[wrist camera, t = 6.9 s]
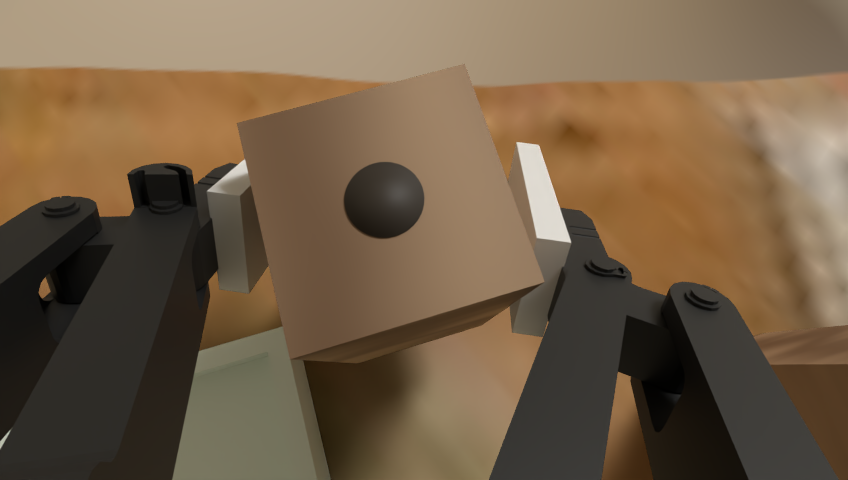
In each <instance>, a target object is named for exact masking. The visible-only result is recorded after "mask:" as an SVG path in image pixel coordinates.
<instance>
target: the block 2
mask: <svg viewBox="0 0 848 480" xmlns="http://www.w3.org/2000/svg"><path fill="white" fill-rule="evenodd" d="M754 339H755V340H756V342H757V344H758V345H759V347H760V349H761V350H762V352H763V354H764V355H765V357H766V359H767V360H768V362H769V364H770V365H771V367H772V369H773V370H774V372H775V374H776V375H777V377H778V379H779V380H780V382H781V384H782V385H783V387H784V389H785V390H786V392H787V394H788V395H789V397H790V399H791V401H792V402H793V404H794V406H795V407H796V409H797V411H798V412H799V414H800V416H801V417H802V419H803V421H804V422H805V424H806V426H807V427H808V429H809V431H810V432H811V434H812V436H813V437H814V439H815V441H816V442H817V444H818V446H819V447H820V449H821V451H822V452H823V454H824V456H825V457H826V459H827V461H828V462H829V464H830V466H831V467H832V469H833V471H834V472H835V474H836V476H837V477H838V479H839V480H848V325H845V326H835V327H824V328H813V329H803V330H792V331H781V332H771V333H763V334H760V335H757V336H754Z"/></svg>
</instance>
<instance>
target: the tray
mask: <svg viewBox="0 0 848 480" xmlns="http://www.w3.org/2000/svg"><path fill="white" fill-rule="evenodd" d="M11 429H12V428H11ZM10 431H11V430H10ZM10 431H9V432H8V433H7V434H6V435H5V436H4V438H3V439H2V440H1V441H0V449H1V447H2V445H3V443H4V442H5V440H6V438H7V436H8V434H9V433H10ZM172 480H331V478H330V474H329V469H328V465H327V461H326V457H325V452H324V448H323V444H322V439H321V435H320V431H319V426H318V422H317V418H316V413H315V409H314V405H313V401H312V396H311V392H310V388H309V383H308V379H307V375H306V370H305V366H304V362H303V360H293V359H290V358H289V353H288V349H287V344H286V340H285V335H284V331H283V327H279V328H276V329H273V330H269V331H266V332H262V333H259V334H256V335H252V336H249V337H245V338H242V339H238V340H235V341H232V342H228V343H225V344H221V345H218V346H215V347H211V348H208V349H204V350H201V351H199V353H198V357H197V362H196V367H195V372H194V377H193V382H192V386H191V391H190V396H189V401H188V406H187V411H186V415H185V420H184V425H183V430H182V435H181V440H180V445H179V449H178V454H177V459H176V464H175V469H174V474H173V478H172Z"/></svg>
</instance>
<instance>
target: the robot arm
mask: <svg viewBox="0 0 848 480" xmlns="http://www.w3.org/2000/svg"><path fill="white" fill-rule="evenodd" d="M127 176H128V180H129V185H130V189H131V194H132V198H133V203H134V207H135V208H134V210H133V211H132V213H131V215H130V216H120V217H100V216H99V213H98V209H97V205H96V202H94V201H93V200H91V199H88V198H83V197H71V196H62V198H60V197H54V198H51V199H50V200H47V201H43V202H40V203H38V204H36V205H34V206H31V207H30V208H28V209H27V210H25V211H23V212H22V213H20V214H19V215H17V216H16V217H14V218H13V219H11V220H9V221H8V222H6V223H5V224H3V225H2V226H0V441H1V440H2V439H3V438H4V436H5V435H6V434H7V433H8V432H9V431H10V430H11V431H10V433H9V434H8V436H7V438H6V440H5V442H4V443H3V445H2V447H1V449H0V480H172V478H173V474H174V469H175V464H176V459H177V454H178V449H179V445H180V440H181V435H182V430H183V425H184V420H185V415H186V411H187V406H188V401H189V396H190V391H191V386H192V382H193V377H194V372H195V367H196V362H197V357H198V353H199V348H200V343H201V338H202V333H203V328H204V324H205V319H206V314H207V309H208V304H209V299H210V291H209V285H208V281H209V279H210V278H211V277H212V276H213V275H214V273H215V272H216V271H217V274H218V281H219V289H221V290H228V291H234V292H241V293H248V294H249V293H250V291H251V290H252V289H253V287H254V286H255V284H256V283H257V281H258V280H259V278H260V277H261V276H262V274H263V273H264V271H265V270H266V268H267V267H268V265H269V264H268V260H267V255H266V251H265V246H264V242H263V237H262V233H261V228H260V224H259V219H258V215H257V210H256V206H255V202H254V197H253V193H252V188H251V184H250V179H249V175H248V170H247V166H246V161H245V159H244V160H243V161H242V162H241V163H239V164H233V163H229V164H226V165H223V166H221V167H218V168H215V169H214V170H212V171H211V172H210V173H208V174H207V175H206V176H205V178H204V177H203V178H202V179H201V180H200V181H198V184H194V182H193V175H192V170H191V169H190V168H188V167H187V166H183V165H179V164H171V163H160V164H151V165H146V166H141V167H139V168H136V169H134V170H132V171H131V172H129V173H128V174H127ZM508 183H509V186H510V189H511V191H512V194H513V197H514V200H515V202H516V205H517V208H518V211H519V213H520V216H521V219H522V221H523V224H524V227H525V230H526V232H527V235H528V238H529V240H530V243H531V246H532V249H533V251H534V254H535V257H536V259H537V262H538V265H539V268H540V270H541V273H542V276H543V278H544V281H545V282H544V283H543V284H541V285H540V286H538V287H537V288H535V289H534V290H532V291H531V292H530V293H528V294H527V295H525V296H524V297H522V298H520V299H519V300H517V301H516V302H514V303H513V304H511V305H510V315H511V326H512V332H513V333H519V334H526V335H533V336H540V337H543V339H542V342H541V344H540V347H539V350H538V352H537V355H536V357H535V360H534V363H533V365H532V368H531V371H530V373H529V376H528V378H527V381H526V384H525V386H524V389H523V392H522V394H521V397H520V399H519V402H518V405H517V407H516V410H515V413H514V415H513V418H512V420H511V423H510V426H509V428H508V431H507V434H506V436H505V439H504V441H503V444H502V447H501V449H500V452H499V455H498V457H497V460H496V462H495V465H494V468H493V470H492V473H491V476H490V478H489V480H601V478H602V472H603V465H604V458H605V452H606V445H607V439H608V432H609V426H610V419H611V413H612V406H613V400H614V393H615V386H616V380H617V373H618V372H621V373H623V374H626V375H629V376H631V385H632V390H633V394H634V398H635V402H636V407H637V411H638V415H639V419H640V424H641V428H642V432H643V436H644V441H645V445H646V449H647V453H648V458H649V462H650V466H651V470H652V475H653V479H654V480H839V479H838V477H837V476H836V474H835V472H834V471H833V469H832V467H831V466H830V464H829V462H828V461H827V459H826V457H825V456H824V454H823V452H822V451H821V449H820V447H819V446H818V444H817V442H816V441H815V439H814V437H813V436H812V434H811V432H810V431H809V429H808V427H807V426H806V424H805V422H804V421H803V419H802V417H801V416H800V414H799V412H798V411H797V409H796V407H795V406H794V404H793V402H792V401H791V399H790V397H789V395H788V394H787V392H786V390H785V389H784V387H783V385H782V384H781V382H780V380H779V379H778V377H777V375H776V374H775V372H774V370H773V369H772V367H771V365H770V364H769V362H768V360H767V359H766V357H765V355H764V354H763V352H762V350H761V349H760V347H759V345H758V344H757V342H756V340H755V339H754V337H753V335H752V334H751V332H750V330H749V329H748V327H747V325H746V324H745V322H744V320H743V319H742V317H741V315H740V314H739V312H738V310H737V309H736V307H735V306H734V305H733V303H732V302H731V301H730V300H729V299H728V298H726V297H725V296H724V295H722V294H721V293H719V292H718V291H717V290H715V289H713V288H712V289H711V288H710V287H708V286H706V285H700V284H696V283H690V282H679V283H674V284H673V285H672V286H671V287H670V289H669V291H668V293H667V295H666V296H665V295H662V294H658V293H655V292H652V291H649V290H646V289H643V288H641V287H638V286H636V285H634V284H632V283H631V282H632V276H631V272H630V271H629V270H628V269H627V268H626V267H625V266H624V265H623V264H621V263H620V262H618V261H616V260H614V259H612V258H609V257H608V255H607V253H606V251H605V248H604V246H603V244H602V242H601V239H599V235H598V233H597V231H596V228H595V226H594V224H593V221H592V220H591V219H590V218H589V217H588V216H587V215H585V214H584V213H583V212H582V211H579V210H572V209H565V208H560V207H559V204H558V201H557V198H556V195H555V192H554V189H553V186H552V183H551V180H550V177H549V174H548V171H547V168H546V165H545V162H544V159H543V156H542V153H541V150H540V147H539V145H535V144H528V143H520V142H516V146H515V151H514V156H513V160H512V165H511V170H510V174H509V179H508ZM45 277H46V279H47V282H48V285H49V288H50V291H51V292H50V293H49V294H48V295H47V296H45V297H44V298H41V297H40V295H39V293H38V292H39V288H40V284H41V282H42V281H43V279H44V278H45ZM547 321H549V323H548V326H547V329H546V331H545V327H546V324H547ZM544 331H545V334H544ZM543 334H544V336H543ZM11 428H12V429H11Z"/></svg>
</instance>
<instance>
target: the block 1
mask: <svg viewBox="0 0 848 480" xmlns="http://www.w3.org/2000/svg"><path fill="white" fill-rule="evenodd" d="M237 126H238V130H239V135H240V139H241V144H242V148H243V152H244V157H245V161H246V166H247V170H248V175H249V179H250V184H251V188H252V193H253V197H254V202H255V206H256V210H257V215H258V219H259V224H260V228H261V233H262V237H263V242H264V246H265V251H266V255H267V260H268V264H269V268H270V273H271V277H272V282H273V286H274V291H275V295H276V300H277V304H278V309H279V313H280V317H281V322H282V326H283V331H284V335H285V340H286V344H287V349H288V353H289V358H290V359H293V360H309V361H326V362H342V363H361V362H364V361H367V360H371V359H374V358H377V357H380V356H384V355H387V354H390V353H393V352H397V351H400V350H403V349H406V348H410V347H413V346H416V345H419V344H423V343H426V342H429V341H432V340H436V339H439V338H442V337H445V336H449V335H452V334H455V333H458V332H462V331H465V330H468V329H471V328H475V327H478V326H481V325H483V324H484V323H486V322H487V321H488V320H490V319H491V318H493V317H494V316H496V315H497V314H499V313H500V312H502V311H503V310H505V309H506V308H508V307H509V306H510V305H511V304H513V303H514V302H516V301H517V300H519V299H520V298H522V297H524V296H525V295H527V294H528V293H530V292H531V291H532V290H534V289H535V288H537V287H538V286H540V285H541V284H543V283H544V282H545V281H544V278H543V276H542V273H541V270H540V268H539V265H538V262H537V259H536V257H535V254H534V251H533V249H532V246H531V243H530V240H529V238H528V235H527V232H526V230H525V227H524V224H523V221H522V219H521V216H520V213H519V211H518V208H517V205H516V202H515V200H514V197H513V194H512V191H511V189H510V186H509V183H508V181H507V178H506V175H505V172H504V170H503V167H502V164H501V162H500V159H499V156H498V153H497V151H496V148H495V145H494V143H493V140H492V137H491V134H490V132H489V129H488V126H487V124H486V121H485V118H484V115H483V113H482V110H481V107H480V105H479V102H478V99H477V96H476V94H475V91H474V88H473V86H472V83H471V80H470V77H469V75H468V72H467V69H466V67H465V64H463V65H459V66H455V67H451V68H447V69H444V70H440V71H436V72H432V73H428V74H424V75H420V76H416V77H413V78H409V79H405V80H401V81H397V82H393V83H390V84H386V85H382V86H378V87H374V88H370V89H366V90H363V91H359V92H355V93H351V94H347V95H343V96H340V97H336V98H332V99H328V100H324V101H320V102H316V103H313V104H309V105H305V106H301V107H297V108H293V109H290V110H286V111H282V112H278V113H274V114H270V115H266V116H263V117H259V118H255V119H251V120H247V121H243V122H240V123H237Z"/></svg>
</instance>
